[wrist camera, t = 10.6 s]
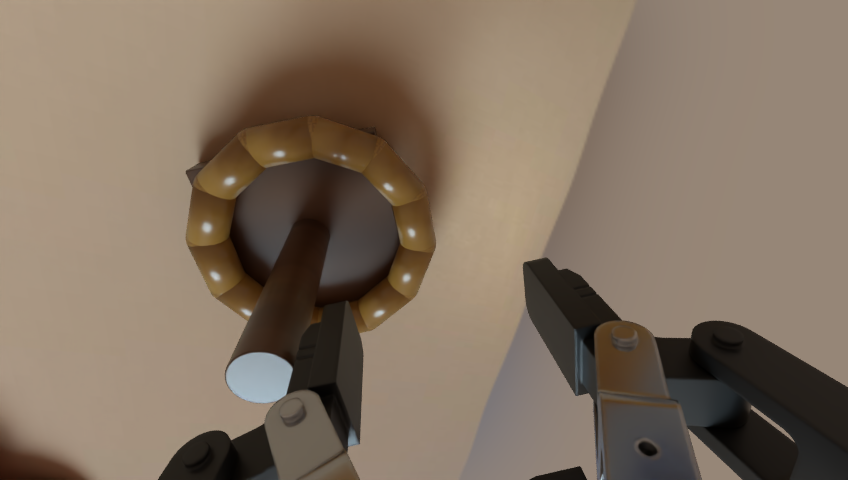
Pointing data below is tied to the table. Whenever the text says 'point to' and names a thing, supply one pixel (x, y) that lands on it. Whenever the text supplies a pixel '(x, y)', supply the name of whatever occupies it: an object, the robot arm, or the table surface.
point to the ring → (295, 144)
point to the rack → (302, 260)
